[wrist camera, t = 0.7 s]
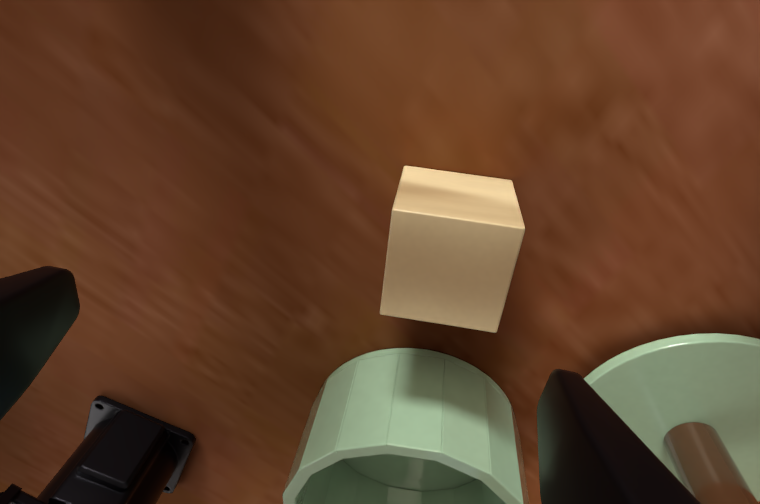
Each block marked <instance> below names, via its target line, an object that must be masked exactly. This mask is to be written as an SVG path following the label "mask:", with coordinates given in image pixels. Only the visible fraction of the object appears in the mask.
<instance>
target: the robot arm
mask: <svg viewBox="0 0 760 504" xmlns="http://www.w3.org/2000/svg"><path fill="white" fill-rule="evenodd" d="M79 310H80V303H79V299H78V294H77V289H76V284H75V279H74V276H73V274H72V273H71V271H69V270H67V269H62V268H57V267H52V266H45V267H41V268H37V269H34V270H30V271H26V272H23V273H19V274H16V275H12V276H9V277H5V278H1V279H0V420H1V419H2V418H3V417H4V415H5V414H6V413H7V412H8V411H9V410H10V408H11V407H12V406H13V405H14V404H15V403H16V401H17V400H18V399H19V398H20V397H21V395H22V394H23V393H24V392H25V390H26V389H27V388H28V387H29V385H30V384H31V383H32V381H33V380H34V379H35V377H36V376H37V375H38V373H39V372H40V370H41V369H42V367H43V366H44V365H45V363H46V362H47V360H48V359H49V357H50V356H51V354H52V353H53V352H54V350H55V349H56V347H57V346H58V344H59V343H60V341H61V340H62V339H63V337H64V336H65V334H66V333H67V331H68V330H69V329H70V327H71V326H72V324H73V323H74V321H75V320H76V318H77V316H78V314H79ZM537 427H538V452H539V477H540V494H541V502H542V504H701V503H700V502H699V501H698V500H697V499H696V498H695V497H694V496H693V495H692V494H691V493H690V492H689V490H688V489H687V488H686V487H685V486H684V485H683V484H682V483H681V482H680V481H679V480H678V479H677V478H676V477H675V476H674V474H673V473H672V472H671V471H670V470H669V469H668V468H667V467H666V466H665V465H664V464H663V463H662V462H661V461H660V460H659V459H658V457H657V456H656V455H655V454H654V453H653V452H652V451H651V450H650V449H649V448H648V447H647V446H646V445H645V444H644V443H643V441H642V440H641V439H640V438H639V437H638V436H637V435H636V434H635V433H634V432H633V431H632V430H631V429H630V428H629V427H628V426H627V424H626V423H625V422H624V421H623V420H622V419H621V418H620V417H619V416H618V415H617V414H616V413H615V412H614V411H613V410H612V408H611V407H610V406H609V405H608V404H607V403H606V402H605V401H604V400H603V399H602V398H601V397H600V396H599V395H598V394H597V393H596V391H595V390H594V389H593V388H592V387H591V386H590V385H589V384H588V383H587V382H586V381H585V380H584V379H583V378H582V377H581V376H580V375H579V374H578V373H575V372H571V371H566V370H561V369H556V370H554V371H553V372H552V373H551V375H550V377H549V379H548V381H547V383H546V386H545V388H544V390H543V393H542V395H541V397H540V399H539V402H538V407H537ZM195 440H196V438H195V436H194V435H193V434H191V433H189V432H187V431H185V430H182V429H180V428H178V427H175V426H173V425H170V424H168V423H166V422H163V421H161V420H159V419H156V418H154V417H152V416H149V415H147V414H144V413H142V412H140V411H137V410H135V409H133V408H130V407H128V406H126V405H123V404H121V403H118V402H116V401H114V400H111V399H109V398H107V397H104V396H98V397H96V398H95V400H94V401H93V402H92V404H91V408H90V413H89V418H88V422H87V427H86V431H85V436H84V440H83V442H82V443H81V444H80V445H79V447H78V448H77V449H76V450H75V452H74V453H73V454H72V455H71V457H70V458H69V459H68V460H67V462H66V463H65V464H64V465H63V466H62V468H61V469H60V470H59V471H58V473H57V474H56V475H55V476H54V478H53V479H52V480H51V481H50V483H49V484H48V485H47V486H46V487H45V489H44V490H43V491H42V492H41V494H40V495H39V496H38V497H37V498H35V497H33V496H31V495H29V494H27V493H25V492H23V491H21V489H22V488H20V487H18V486H16V485H15V484H11V485H10V487H9V488H8V489H7V490H6V491H5V492H2V493H0V504H156V502H157V501H158V499H159V497H160V495H161V494H162V492H165V493H172V492H173V491H174V489H175V487H176V486H177V483H178V481H179V478H180V476H181V474H182V471H183V469H184V467H185V464H186V462H187V459H188V457H189V455H190V452H191V450H192V447H193V445H194V443H195Z"/></svg>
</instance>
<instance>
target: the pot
mask: <svg viewBox="0 0 760 504" xmlns="http://www.w3.org/2000/svg"><path fill="white" fill-rule="evenodd" d="M283 504H529V499H528V492H527V485H526V478H525V471H524V464H523V456H522V449H521V442H520V435H519V431H518V428H517V424H516V419H515V414H514V411H513V408H512V406H511V403H510V401H509V400H508V398H507V396H506V395H505V393H504V392H503V391H502V390H501V388H500V387H499V386H498V385H497V384H496V383H495V382H494V381H493V380H492V379H491V378H490V377H489V376H488V375H486V374H485V373H483V372H482V371H481V370H479V369H478V368H476V367H474V366H473V365H471V364H469V363H467V362H465V361H463V360H461V359H458V358H456V357H453V356H451V355H447V354H444V353H440V352H437V351H431V350H426V349H417V348H391V349H383V350H378V351H373V352H369V353H366V354H363V355H361V356H358V357H355V358H353V359H352V360H350V361H348V362H346V363H344V364H343V365H341V366H340V367H339V368H337V369H336V370H335V371H334V372H333V373H332V374H331V375H330V376H329V377H328V378H327V379H326V381H325V382H324V384H323V385H322V387H321V389H320V391H319V393H318V396H317V398H316V400H315V401H314V403H313V406H312V409H311V412H310V415H309V418H308V420H307V423H306V426H305V429H304V432H303V435H302V438H301V441H300V444H299V447H298V450H297V453H296V456H295V459H294V462H293V465H292V468H291V471H290V474H289V477H288V480H287V483H286V486H285V489H284V492H283Z"/></svg>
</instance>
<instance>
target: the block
mask: <svg viewBox="0 0 760 504" xmlns="http://www.w3.org/2000/svg"><path fill="white" fill-rule="evenodd" d="M524 233H525V225H524V222H523V218H522V215H521V211H520V208H519V204H518V200H517V197H516V193H515V190H514V186H513V183H512V180H506V179H499V178H492V177H485V176H477V175H470V174H463V173H456V172H448V171H441V170H434V169H427V168H420V167H412V166H404V168H403V172H402V175H401V179H400V183H399V186H398V190H397V193H396V197H395V201H394V204H393V208H392V213H391V222H390V230H389V239H388V247H387V256H386V264H385V272H384V281H383V289H382V298H381V306H380V314H381V315H387V316H394V317H400V318H406V319H412V320H419V321H425V322H431V323H437V324H443V325H450V326H456V327H462V328H468V329H475V330H481V331H487V332H493V333H496V332H497V330H498V326H499V323H500V319H501V316H502V312H503V308H504V305H505V301H506V298H507V294H508V290H509V287H510V283H511V280H512V276H513V272H514V269H515V265H516V262H517V258H518V254H519V251H520V247H521V244H522V240H523V236H524Z"/></svg>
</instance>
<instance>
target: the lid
mask: <svg viewBox="0 0 760 504" xmlns="http://www.w3.org/2000/svg"><path fill="white" fill-rule="evenodd" d="M584 380H585V381H586V382H587V383H588V384H589V385H590V386H591V387H592V388H593V389H594V390H595V391H596V393H597V394H598V395H599V396H600V397H601V398H602V399H603V400H604V401H605V402H606V403H607V404H608V405H609V406H610V407H611V408H612V410H613V411H614V412H615V413H616V414H617V415H618V416H619V417H620V418H621V419H622V420H623V421H624V422H625V423H626V424H627V426H628V427H629V428H630V429H631V430H632V431H633V432H634V433H635V434H636V435H637V436H638V437H639V438H640V439H641V440H642V441H643V443H644V444H645V445H646V446H647V447H648V448H649V449H650V450H651V451H652V452H653V453H654V454H655V455H656V456H657V457H658V459H659V460H660V461H661V462H662V463H663V464H664V465H665V466H666V467H667V468H668V469H669V470H670V471H671V472H672V473H673V474H674V476H675V477H676V478H677V479H678V480H679V481H680V482H681V483H682V484H683V485H684V486H685V487H686V488H687V489H688V490H689V492H690V493H691V494H692V495H693V496H694V497H695V498H696V499H697V500H698V501H699V502H700V503H701V504H759V503H758V501H760V339H757V338H753V337H747V336H742V335H735V334H721V333H704V334H690V335H681V336H674V337H670V338H665V339H660V340H656V341H653V342H650V343H646V344H643V345H640V346H637V347H635V348H632V349H630V350H628V351H625V352H623V353H621V354H619V355H617V356H615V357H613V358H611V359H610V360H608V361H606V362H605V363H603V364H602V365H600V366H599V367H597V368H596V369H594V370H593V371H592V372H591V373H590V374H588V375H587V376H586V377H585V378H584Z"/></svg>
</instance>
